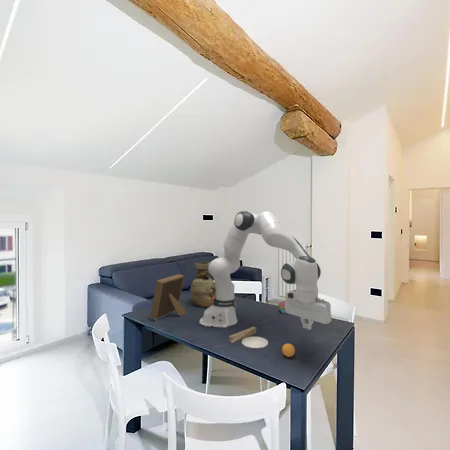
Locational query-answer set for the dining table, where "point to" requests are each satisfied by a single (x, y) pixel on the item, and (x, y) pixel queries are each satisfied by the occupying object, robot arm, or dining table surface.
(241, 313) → the dining table surface
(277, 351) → the dining table surface
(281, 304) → the cupcake
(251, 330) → the bar
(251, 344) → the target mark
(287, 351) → the ball
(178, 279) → the photo frame
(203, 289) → the ceramic vessel
